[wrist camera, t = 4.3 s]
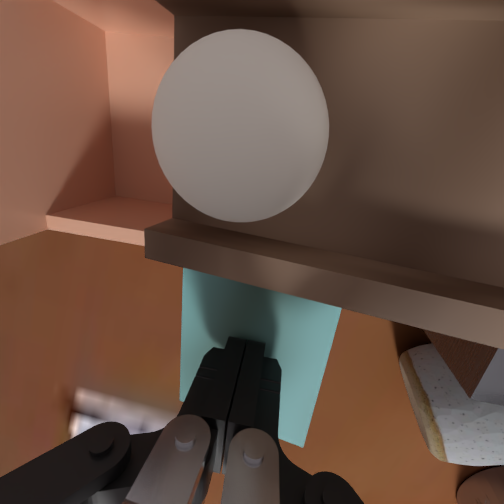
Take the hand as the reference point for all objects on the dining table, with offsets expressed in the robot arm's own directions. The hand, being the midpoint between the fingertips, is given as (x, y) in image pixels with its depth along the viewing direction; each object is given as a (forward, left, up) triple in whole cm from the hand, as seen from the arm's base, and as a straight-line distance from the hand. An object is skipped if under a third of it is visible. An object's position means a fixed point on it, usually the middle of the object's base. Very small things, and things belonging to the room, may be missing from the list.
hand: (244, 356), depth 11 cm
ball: (+1, -8, +2) cm, 8 cm away
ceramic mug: (-16, +7, -11) cm, 21 cm away
